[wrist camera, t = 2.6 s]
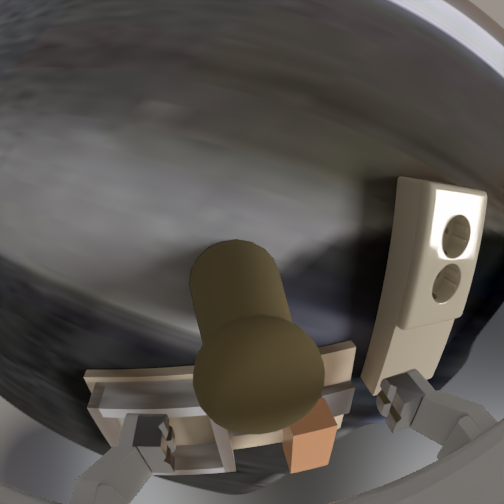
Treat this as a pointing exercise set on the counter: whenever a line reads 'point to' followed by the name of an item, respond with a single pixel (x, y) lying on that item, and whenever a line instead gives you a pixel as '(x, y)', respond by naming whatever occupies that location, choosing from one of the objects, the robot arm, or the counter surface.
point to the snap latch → (310, 439)
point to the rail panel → (199, 409)
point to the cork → (250, 343)
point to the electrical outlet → (424, 276)
